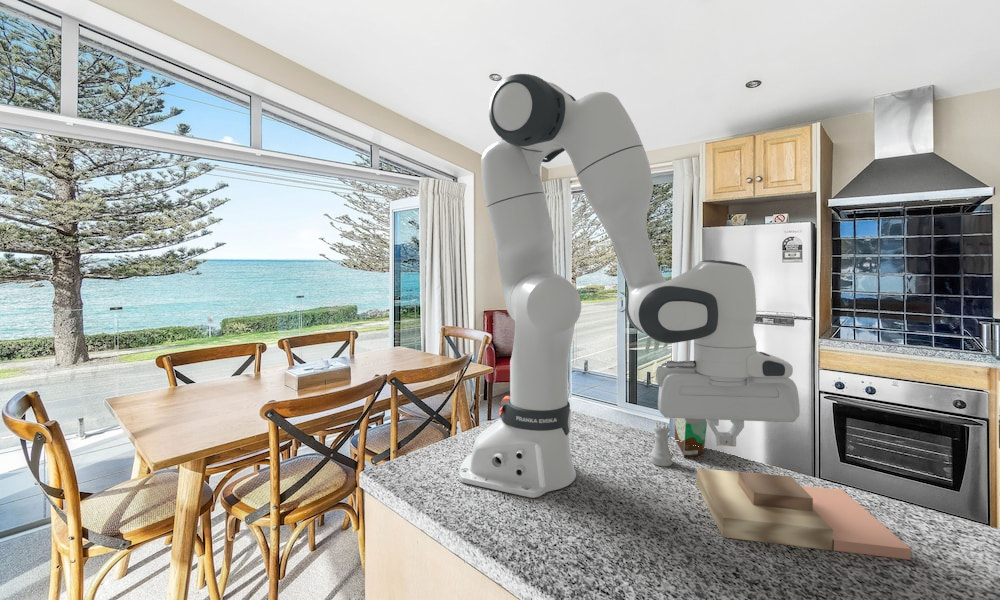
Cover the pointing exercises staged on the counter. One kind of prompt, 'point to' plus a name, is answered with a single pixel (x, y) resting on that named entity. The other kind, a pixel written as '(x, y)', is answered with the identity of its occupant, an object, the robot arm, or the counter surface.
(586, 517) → the counter surface
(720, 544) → the counter surface
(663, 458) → the rook chess piece
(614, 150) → the robot arm
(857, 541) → the salmon pink pad
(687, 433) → the food container
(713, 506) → the oak board
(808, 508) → the walnut tile
